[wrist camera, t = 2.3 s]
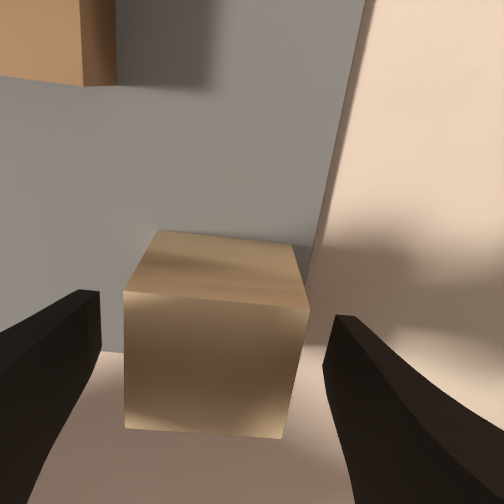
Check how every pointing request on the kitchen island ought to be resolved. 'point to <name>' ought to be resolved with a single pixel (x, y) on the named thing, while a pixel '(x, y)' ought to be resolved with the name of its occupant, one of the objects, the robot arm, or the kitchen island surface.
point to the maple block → (212, 335)
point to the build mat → (171, 145)
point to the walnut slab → (59, 41)
